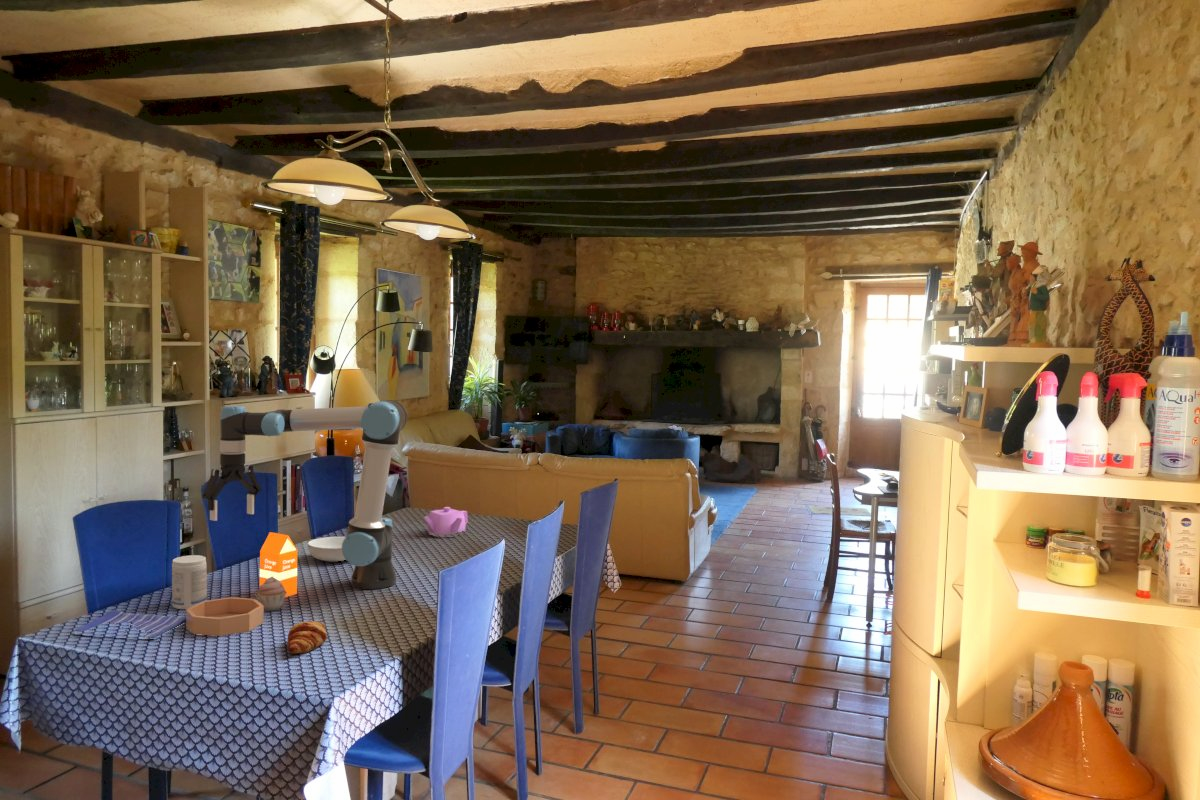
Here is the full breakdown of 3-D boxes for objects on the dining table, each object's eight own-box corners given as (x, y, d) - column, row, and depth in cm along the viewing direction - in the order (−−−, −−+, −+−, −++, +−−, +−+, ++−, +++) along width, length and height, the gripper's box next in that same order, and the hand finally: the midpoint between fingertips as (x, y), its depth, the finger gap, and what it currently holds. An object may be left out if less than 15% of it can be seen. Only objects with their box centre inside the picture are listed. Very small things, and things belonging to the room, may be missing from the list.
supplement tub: (206, 599, 258) (207, 553, 257) (206, 608, 249) (207, 561, 249) (172, 602, 254) (172, 556, 253) (170, 611, 245) (171, 563, 244)
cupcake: (276, 614, 247) (276, 581, 246) (248, 611, 248) (248, 579, 248) (293, 605, 256) (293, 573, 255) (266, 602, 257) (266, 571, 257)
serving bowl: (372, 554, 323) (372, 537, 322) (351, 568, 302) (351, 549, 301) (321, 551, 325) (322, 534, 324) (297, 564, 304) (297, 546, 303)
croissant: (311, 643, 233) (299, 618, 233) (342, 628, 233) (330, 603, 233) (281, 669, 212) (268, 642, 212) (315, 653, 212) (302, 626, 212)
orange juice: (277, 589, 272) (278, 530, 271) (297, 593, 268) (298, 533, 267) (258, 594, 265) (259, 534, 264) (278, 599, 261) (279, 537, 260)
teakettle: (468, 531, 371) (469, 504, 370) (461, 539, 354) (462, 511, 353) (431, 529, 371) (432, 503, 371) (422, 538, 354) (423, 510, 354)
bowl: (272, 616, 244) (273, 600, 244) (238, 638, 225) (238, 620, 225) (212, 612, 246) (213, 595, 246) (173, 633, 227) (174, 615, 227)
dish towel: (112, 617, 239) (112, 608, 239) (189, 622, 238) (190, 612, 238) (70, 637, 222) (70, 627, 222) (154, 643, 221) (154, 632, 220)
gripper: (258, 448, 279) (257, 509, 280) (190, 455, 257) (189, 521, 259) (272, 450, 275) (272, 512, 276) (204, 457, 254) (204, 524, 255)
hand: (232, 517), depth 267 cm, fingers open, 13 cm apart
